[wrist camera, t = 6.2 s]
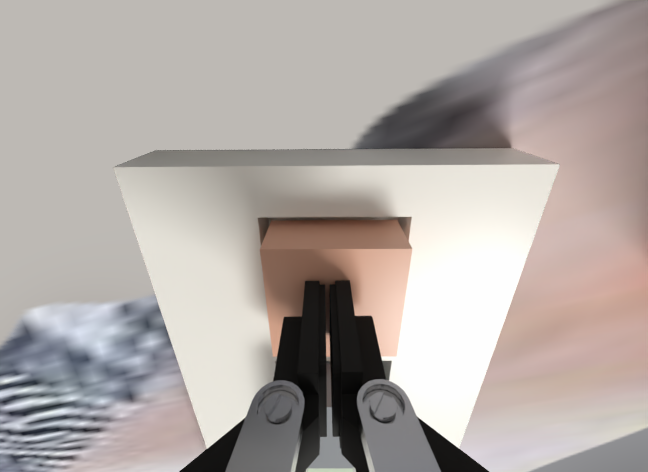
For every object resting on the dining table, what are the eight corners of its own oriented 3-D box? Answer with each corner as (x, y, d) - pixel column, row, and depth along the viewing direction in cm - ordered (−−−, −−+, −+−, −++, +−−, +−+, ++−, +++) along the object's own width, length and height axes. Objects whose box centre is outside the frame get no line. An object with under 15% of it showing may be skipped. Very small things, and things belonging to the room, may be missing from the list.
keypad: (512, 148, 13) (559, 164, 11) (425, 463, 25) (437, 508, 22) (155, 150, 13) (112, 167, 11) (237, 462, 25) (226, 507, 23)
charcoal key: (382, 362, 16) (392, 407, 13) (375, 422, 18) (382, 468, 16) (283, 362, 16) (276, 407, 13) (289, 422, 18) (284, 468, 16)
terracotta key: (397, 219, 12) (412, 248, 10) (386, 316, 15) (396, 356, 12) (271, 220, 12) (259, 249, 10) (280, 316, 15) (272, 356, 13)
